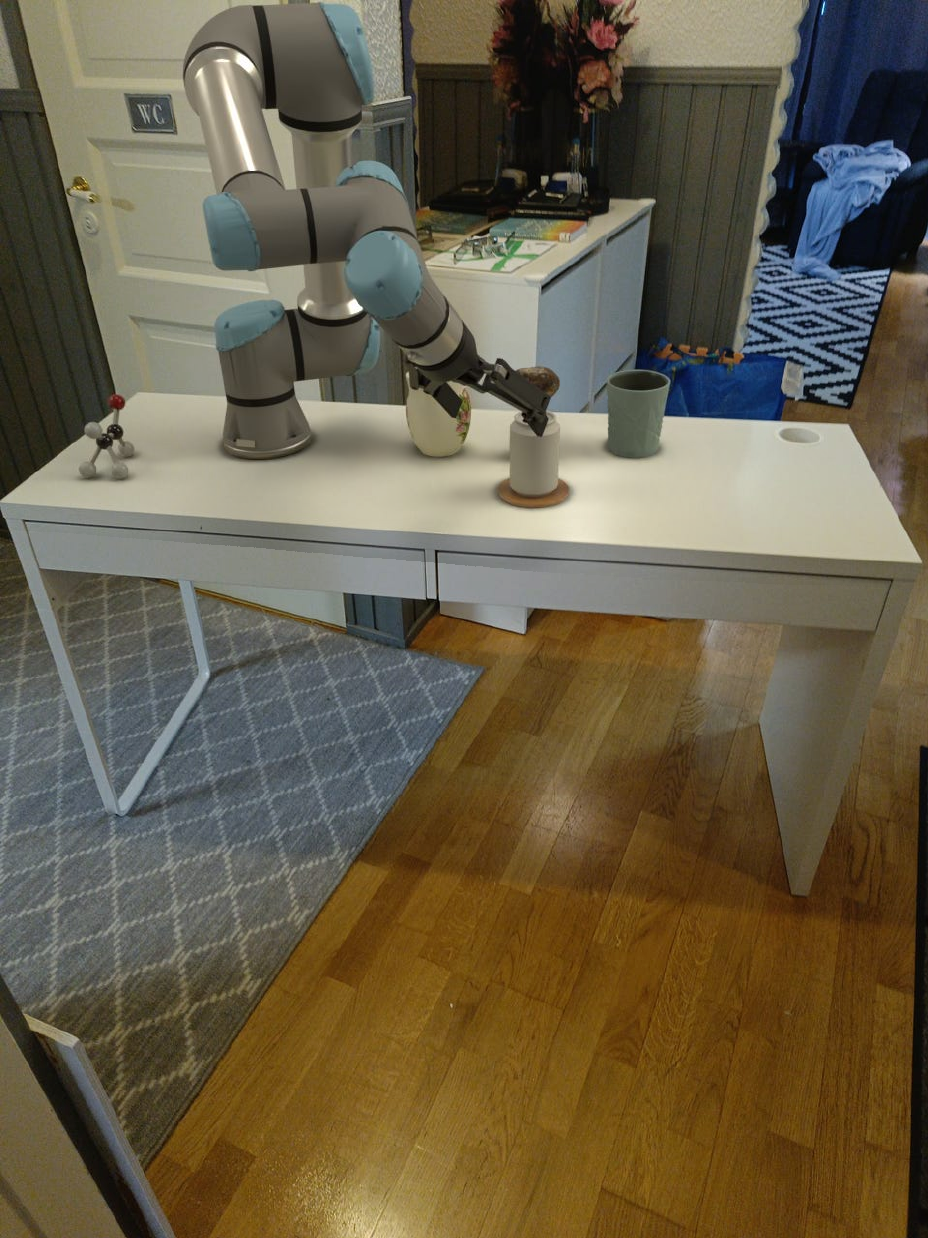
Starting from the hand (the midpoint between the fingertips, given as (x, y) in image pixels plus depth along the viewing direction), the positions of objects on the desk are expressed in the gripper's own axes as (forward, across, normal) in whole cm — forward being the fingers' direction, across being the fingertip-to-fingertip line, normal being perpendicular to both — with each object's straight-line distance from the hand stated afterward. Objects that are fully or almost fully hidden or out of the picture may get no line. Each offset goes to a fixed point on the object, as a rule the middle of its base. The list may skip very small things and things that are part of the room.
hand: (499, 418), depth 121 cm
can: (+18, 0, -4) cm, 19 cm away
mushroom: (+27, -7, +4) cm, 28 cm away
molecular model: (+1, -66, -22) cm, 70 cm away
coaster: (+19, 0, -4) cm, 19 cm away
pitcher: (+24, -22, +2) cm, 33 cm away
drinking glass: (+35, +7, +12) cm, 38 cm away
